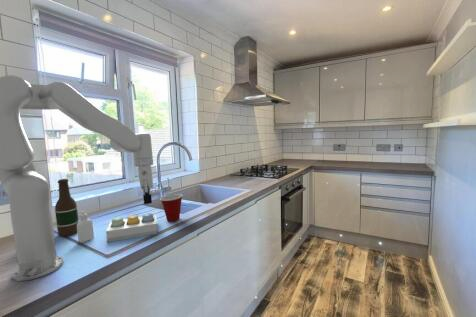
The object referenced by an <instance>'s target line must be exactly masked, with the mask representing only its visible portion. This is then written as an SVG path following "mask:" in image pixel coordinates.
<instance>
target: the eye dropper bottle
mask: <svg viewBox="0 0 476 317" xmlns="http://www.w3.org/2000/svg"><path fill="white" fill-rule="evenodd" d="M79 216H80V221H79V222H78V223H77V233H76V234H77V241H78V242H79V243H86V242H88V241H90V240H92V239H94V237H95V232H94V225H93V220H92V219H90V218H88V214H87V213H85V210H83V211H82V212H81V214H80V215H79Z"/></svg>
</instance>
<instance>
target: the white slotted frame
mask: <svg viewBox="0 0 476 317" xmlns="http://www.w3.org/2000/svg"><path fill="white" fill-rule="evenodd" d="M138 219H139V223H138V224H132V225H128V221H127V218H123V222H124V226H118V227H112V220H110V221H109V224H108V227H107V228H106V230H105V233H106V235H105V236H106V242H107V243H109V242H115V241H123V240H127V239H135V238H139V237H140V236H141V237H145V235H147V236H151V235H150V234H153V235H158V225H157V224H158V223H157V214H153V221H152V222H145V223H143V219H142V216H138Z"/></svg>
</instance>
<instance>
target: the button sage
mask: <svg viewBox="0 0 476 317" xmlns="http://www.w3.org/2000/svg"><path fill="white" fill-rule="evenodd" d="M123 219H124V217H121V216H120V217H113V218H112V219H111V221H112V227H118V226H124V222H123Z"/></svg>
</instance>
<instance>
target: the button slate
mask: <svg viewBox="0 0 476 317" xmlns="http://www.w3.org/2000/svg"><path fill="white" fill-rule="evenodd" d="M153 215H154V214H153V213H152V212H149V213H144V214H142V216H141V217H142V219H143V223H145V222H152V221H153Z"/></svg>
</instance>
